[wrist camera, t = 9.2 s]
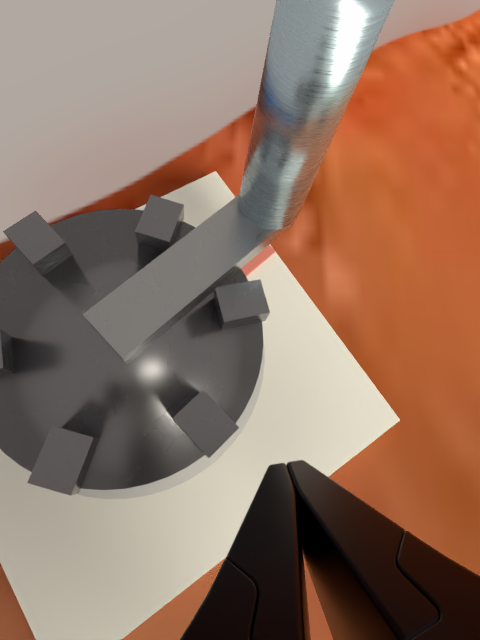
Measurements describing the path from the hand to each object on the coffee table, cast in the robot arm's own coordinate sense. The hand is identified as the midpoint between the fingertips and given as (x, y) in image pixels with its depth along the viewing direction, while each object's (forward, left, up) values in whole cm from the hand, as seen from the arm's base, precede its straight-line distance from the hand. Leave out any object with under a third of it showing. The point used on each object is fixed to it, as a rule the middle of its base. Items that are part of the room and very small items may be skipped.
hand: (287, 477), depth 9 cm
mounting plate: (+6, +1, -11) cm, 12 cm away
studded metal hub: (+7, 0, -8) cm, 10 cm away
